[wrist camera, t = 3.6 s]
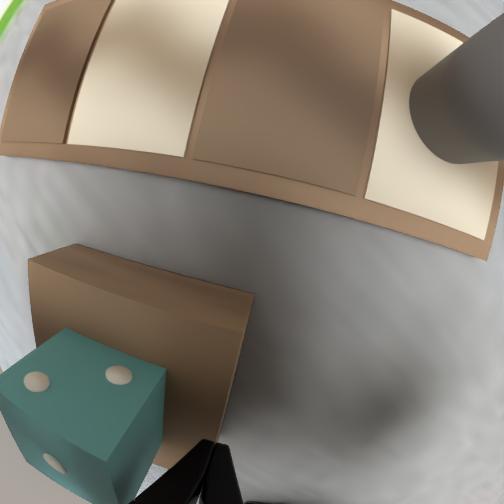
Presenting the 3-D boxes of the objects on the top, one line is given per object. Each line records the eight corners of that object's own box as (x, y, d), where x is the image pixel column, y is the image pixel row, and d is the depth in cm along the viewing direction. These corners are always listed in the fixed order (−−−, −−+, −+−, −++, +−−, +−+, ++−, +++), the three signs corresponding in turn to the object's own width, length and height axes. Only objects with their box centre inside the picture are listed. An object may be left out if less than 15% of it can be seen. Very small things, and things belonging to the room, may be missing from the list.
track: (476, 256, 9) (489, 262, 8) (6, 155, 11) (-7, 154, 10) (496, 66, 7) (508, 60, 6) (52, 9, 9) (43, 3, 8)
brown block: (219, 435, 12) (206, 480, 9) (81, 383, 13) (52, 413, 10) (254, 294, 11) (242, 332, 8) (75, 243, 11) (27, 259, 8)
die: (161, 442, 9) (123, 520, 5) (76, 403, 9) (24, 461, 5) (166, 367, 8) (104, 462, 4) (64, 324, 8) (-15, 380, 4)
